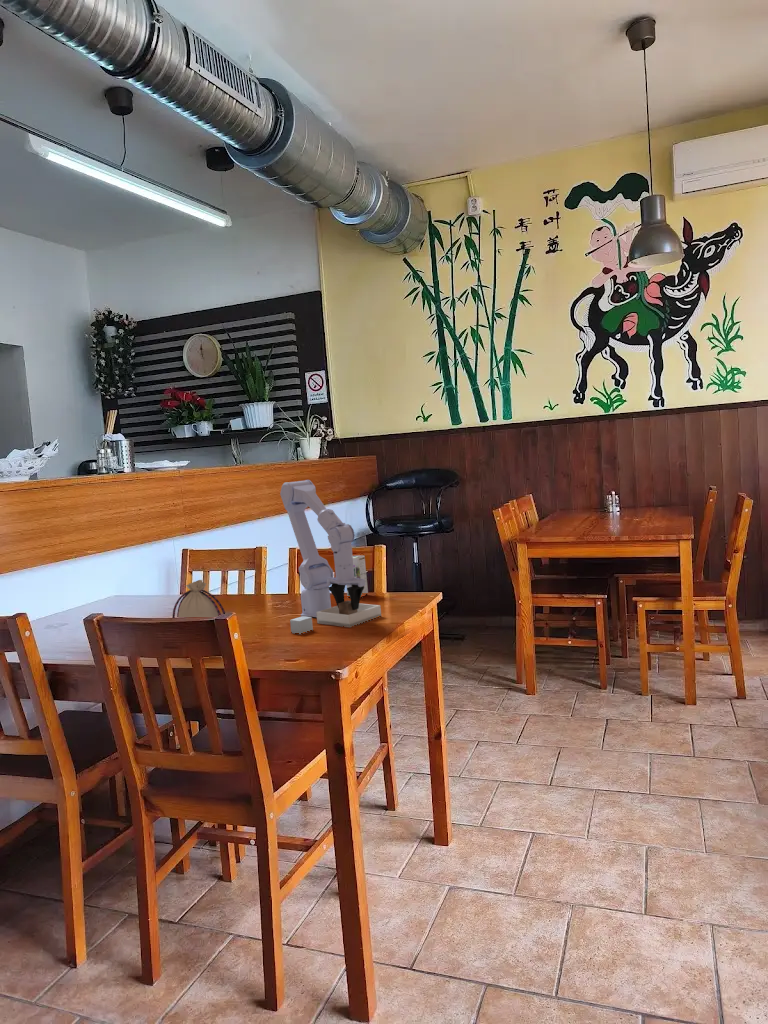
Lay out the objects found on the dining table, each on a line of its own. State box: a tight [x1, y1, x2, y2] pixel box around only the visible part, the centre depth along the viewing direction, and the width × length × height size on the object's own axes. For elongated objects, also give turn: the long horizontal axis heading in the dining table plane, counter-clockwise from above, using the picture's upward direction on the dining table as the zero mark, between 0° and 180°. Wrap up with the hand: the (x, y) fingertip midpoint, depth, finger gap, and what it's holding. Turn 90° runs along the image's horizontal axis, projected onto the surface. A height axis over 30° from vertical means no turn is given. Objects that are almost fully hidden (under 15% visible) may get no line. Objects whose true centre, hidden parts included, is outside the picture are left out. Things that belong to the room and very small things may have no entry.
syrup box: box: [346, 555, 369, 596], centre depth 261 cm, size 6×6×14 cm
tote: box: [316, 602, 382, 628], centre depth 225 cm, size 14×14×4 cm
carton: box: [289, 616, 314, 635], centre depth 216 cm, size 4×5×4 cm
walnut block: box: [338, 600, 358, 615], centre depth 225 cm, size 4×4×4 cm
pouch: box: [172, 579, 226, 618], centre depth 208 cm, size 25×8×19 cm, turn 73°
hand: (348, 608), depth 225 cm, fingers open, 6 cm apart
